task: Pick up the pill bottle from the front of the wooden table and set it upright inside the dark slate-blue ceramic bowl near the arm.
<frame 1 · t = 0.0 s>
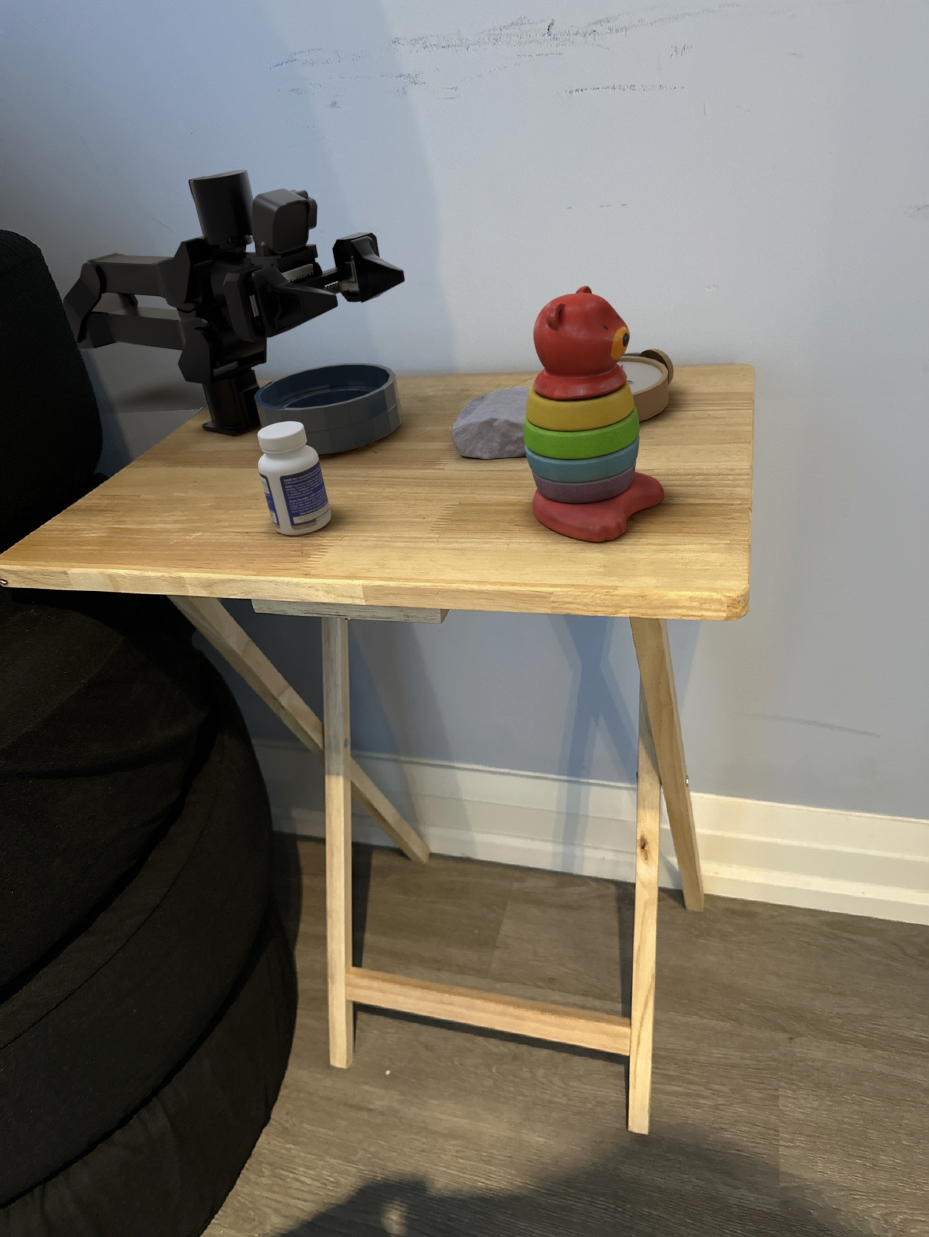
hand: (370, 288, 86), 17 cm above the table, tool horizontal, fingers open, 9 cm apart
stacking bear: (589, 510, 79), on the table
pill bottle: (303, 525, 83), on the table
stone block: (504, 438, 96), on the table
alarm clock: (619, 404, 100), on the table
bowl: (334, 433, 103), on the table
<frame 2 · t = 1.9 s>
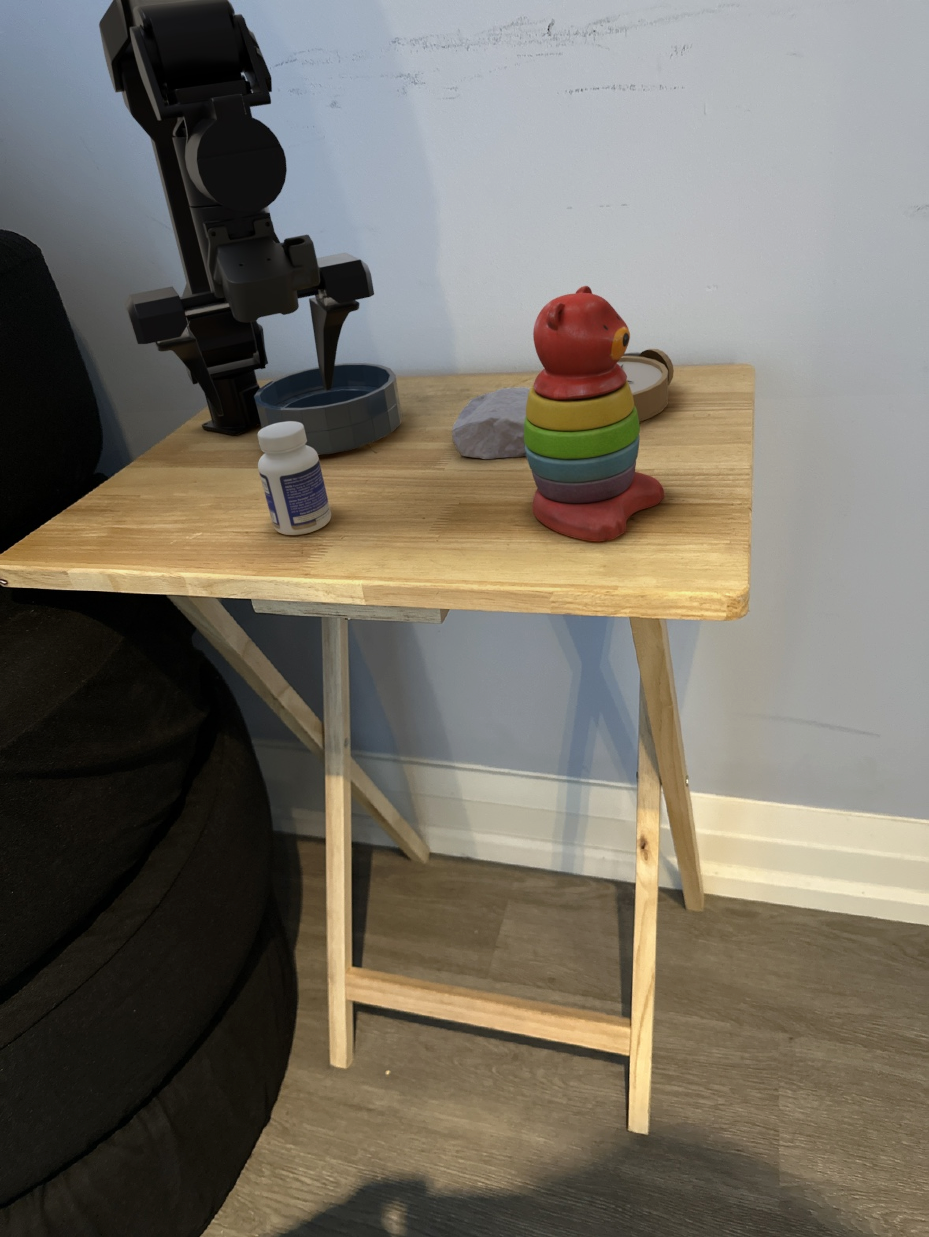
hand: (274, 402, 77), 11 cm above the table, tool pointing down, fingers open, 9 cm apart
nothing on the table moved.
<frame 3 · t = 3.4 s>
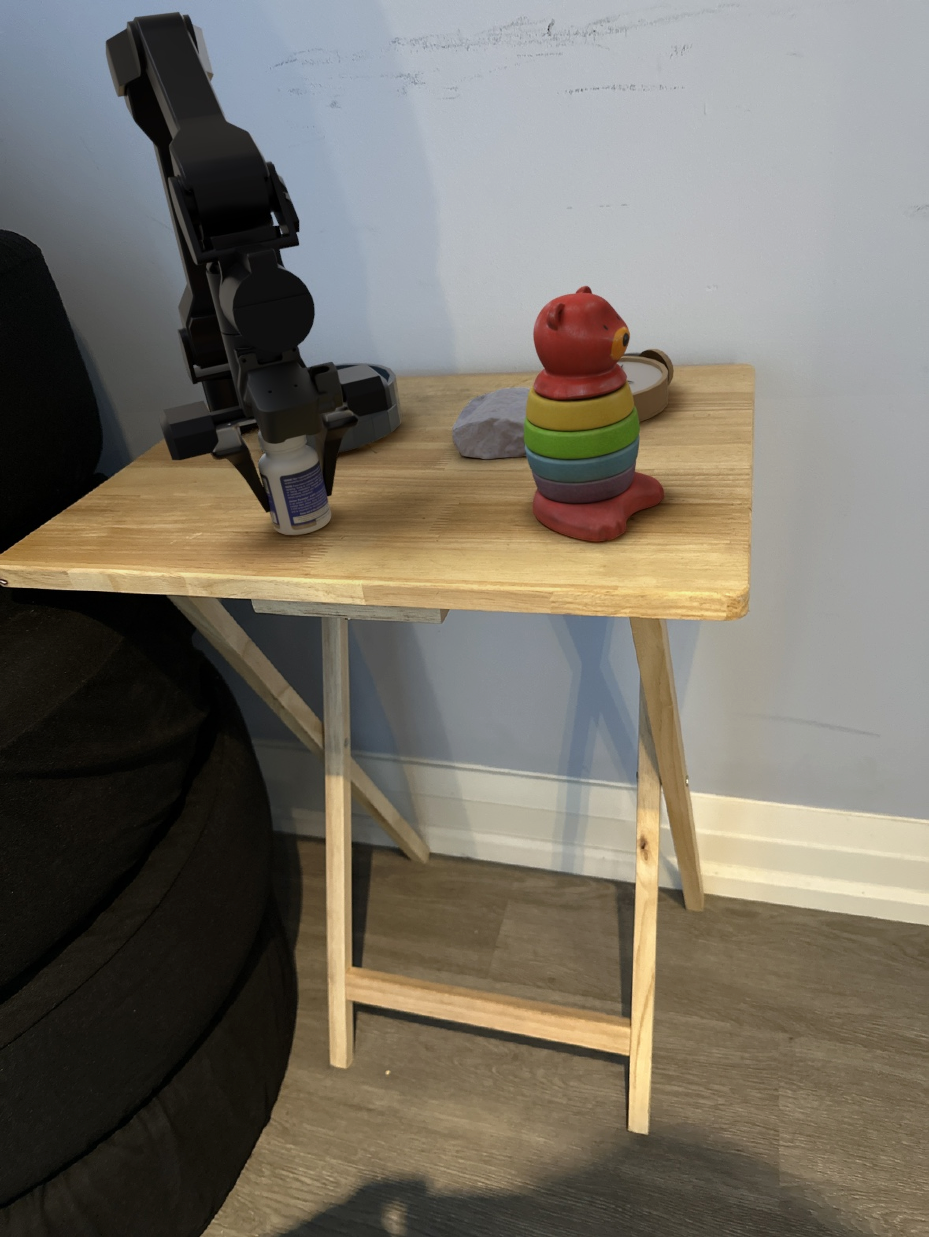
hand: (297, 502, 82), 2 cm above the table, tool pointing down, fingers closed on pill bottle, 5 cm apart
pill bottle: (303, 525, 83), on the table, touching gripper
everything else where it was.
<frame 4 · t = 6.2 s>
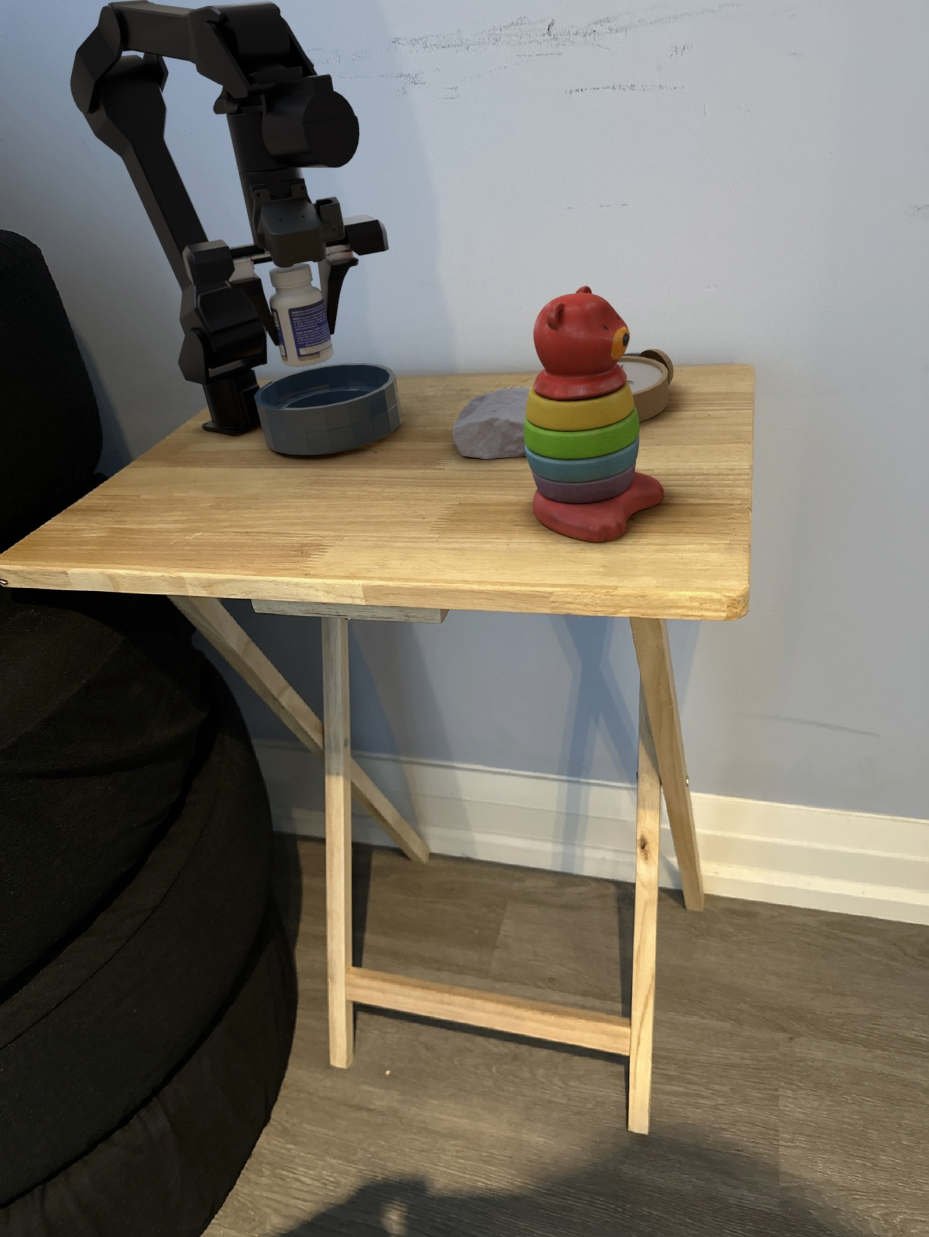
hand: (304, 339, 92), 12 cm above the table, tool pointing down, fingers closed on pill bottle, 5 cm apart
pill bottle: (308, 361, 93), point 10 cm above the table, touching gripper
everything else where it was.
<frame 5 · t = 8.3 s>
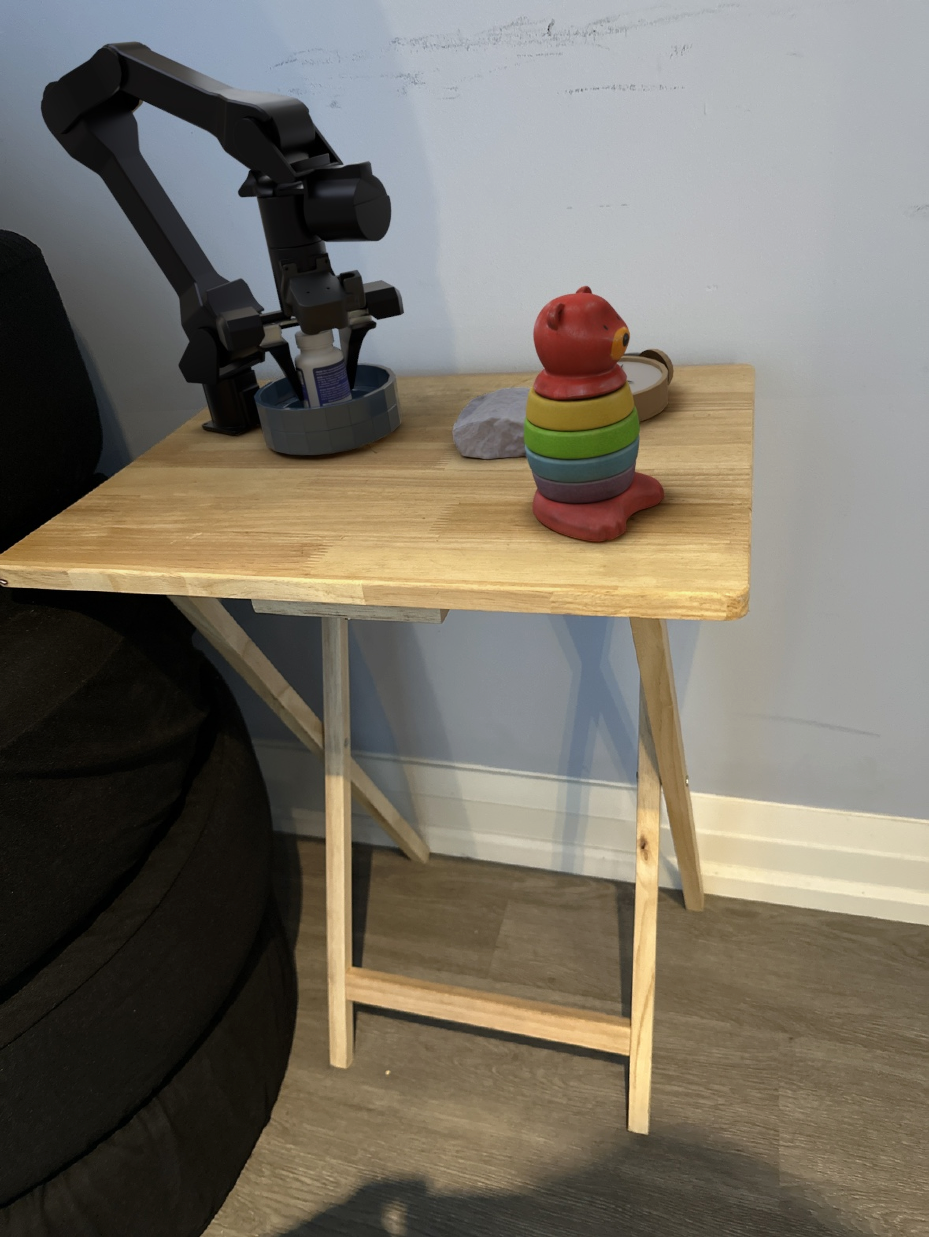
hand: (326, 395, 100), 4 cm above the table, tool pointing down, fingers closed on pill bottle, 5 cm apart
pill bottle: (330, 414, 102), point 2 cm above the table, touching gripper
everything else where it was.
when the fingers open (3 cm above the table, at t = 9.3 s): pill bottle stays where it is, resting on bowl.
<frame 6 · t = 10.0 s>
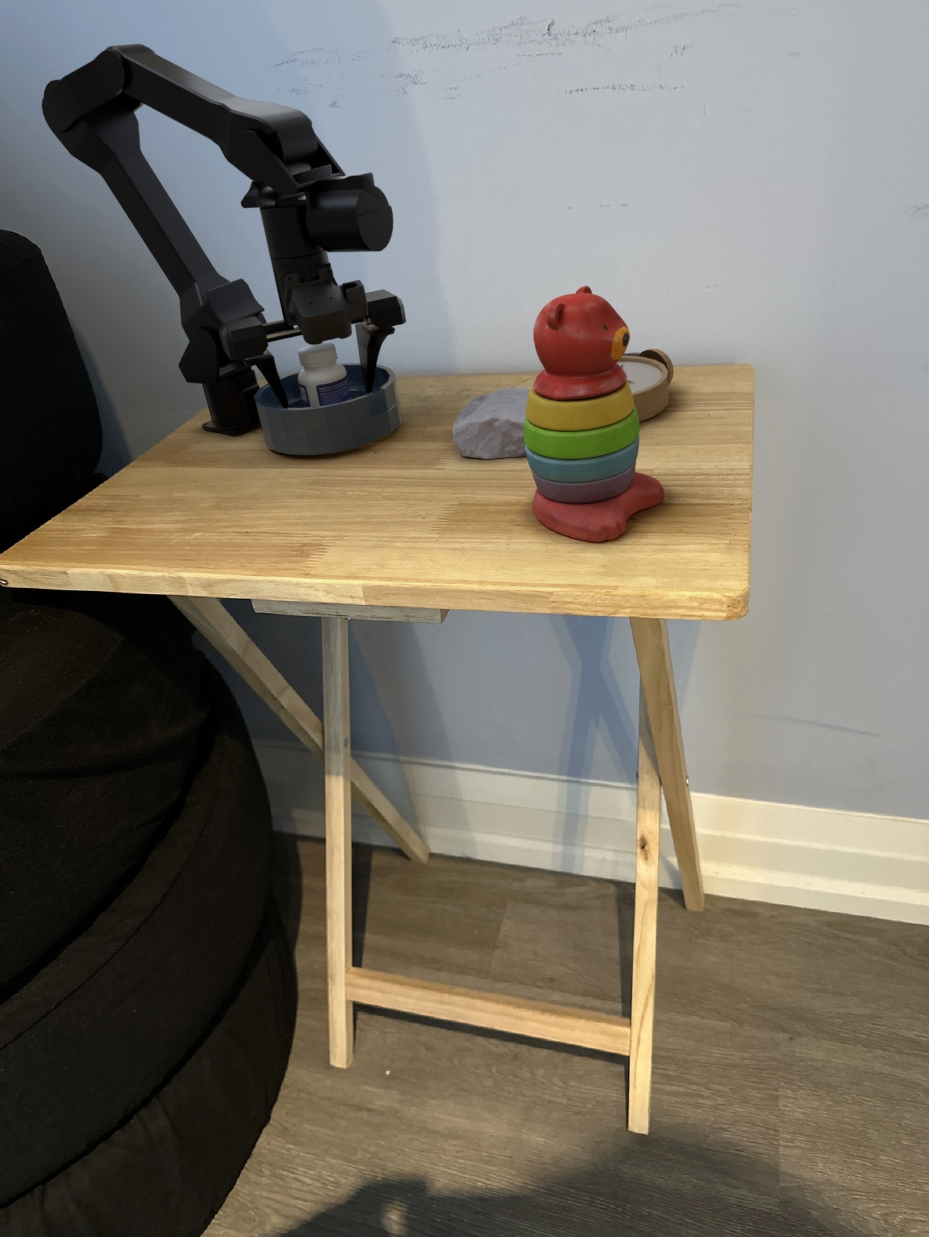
hand: (328, 403, 101), 3 cm above the table, tool pointing down, fingers open, 9 cm apart
pill bottle: (333, 429, 102), resting on bowl
everything else where it was.
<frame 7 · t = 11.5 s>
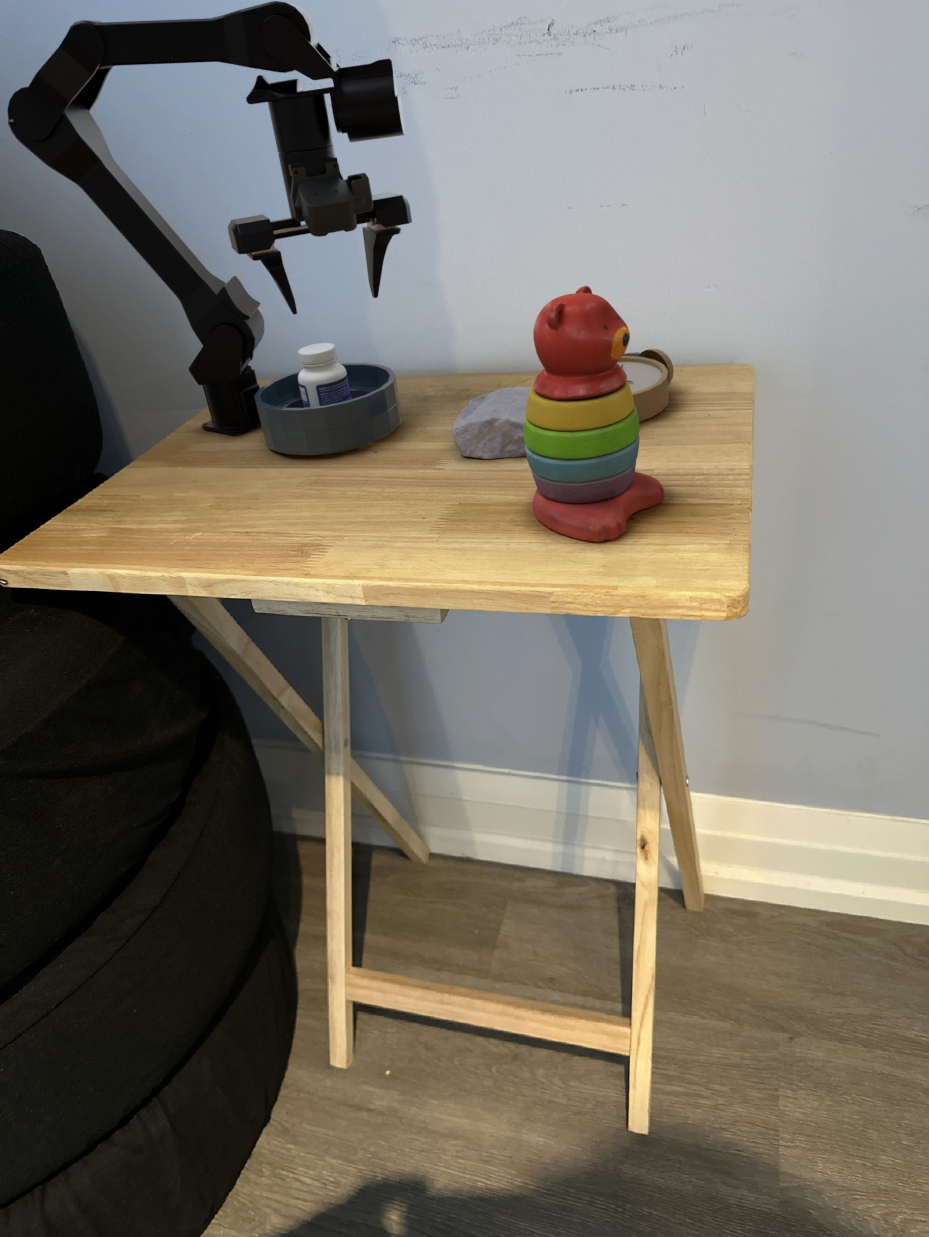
hand: (335, 305, 102), 12 cm above the table, tool pointing down, fingers open, 9 cm apart
nothing on the table moved.
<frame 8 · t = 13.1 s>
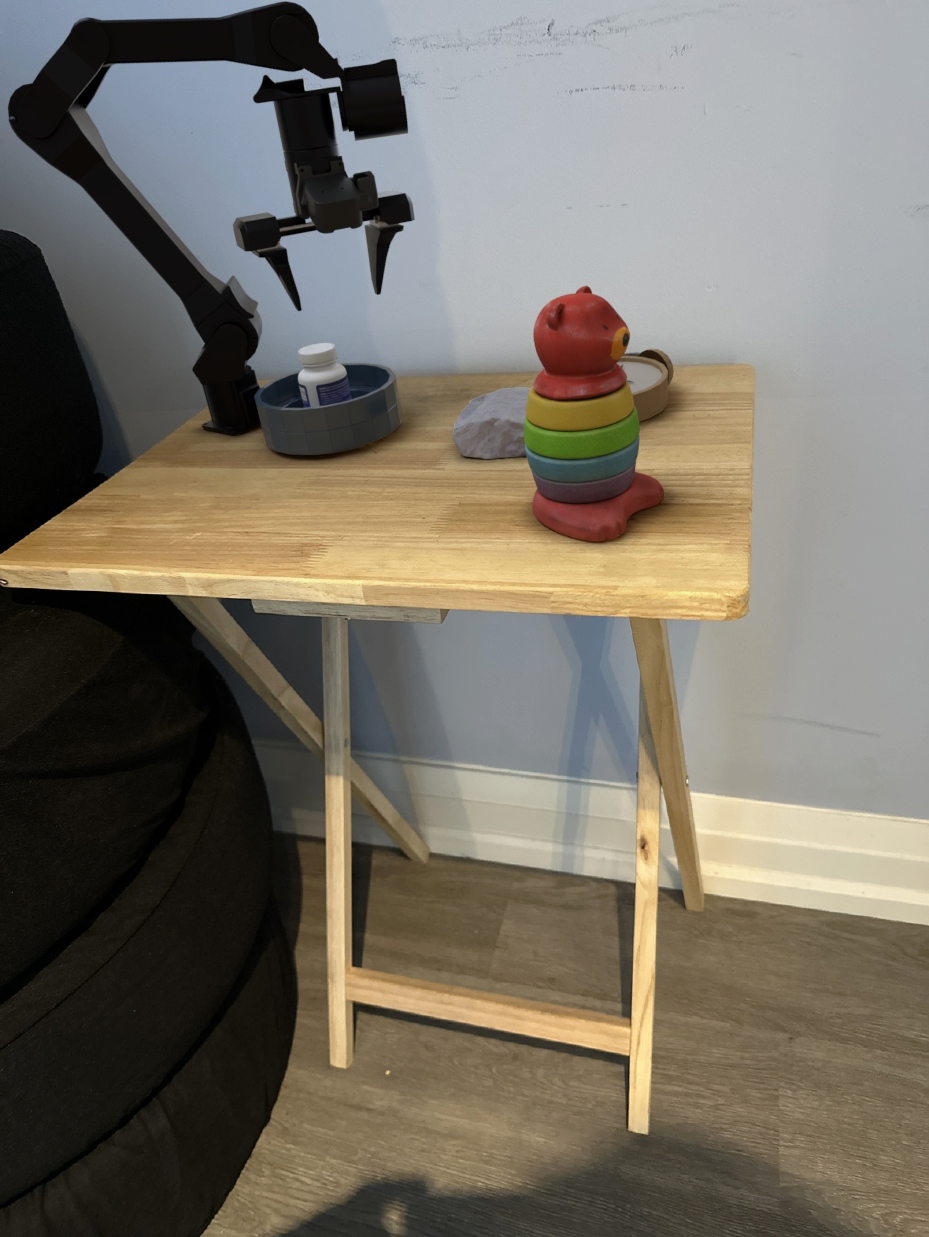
hand: (339, 302, 104), 12 cm above the table, tool pointing down, fingers open, 9 cm apart
nothing on the table moved.
at the end: pill bottle inside the target area in the bowl (0.1 cm from its centre), point 0.4 cm above the bowl's base; pill bottle tilted 0° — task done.
